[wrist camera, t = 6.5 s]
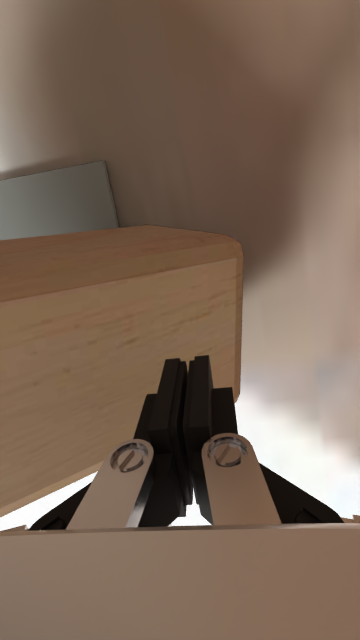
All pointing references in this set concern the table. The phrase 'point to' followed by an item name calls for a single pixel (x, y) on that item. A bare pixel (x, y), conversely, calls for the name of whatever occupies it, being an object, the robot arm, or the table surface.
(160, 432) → the robot arm
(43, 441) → the wooden block
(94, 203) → the mat
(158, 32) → the table surface
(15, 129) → the table surface
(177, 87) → the table surface
